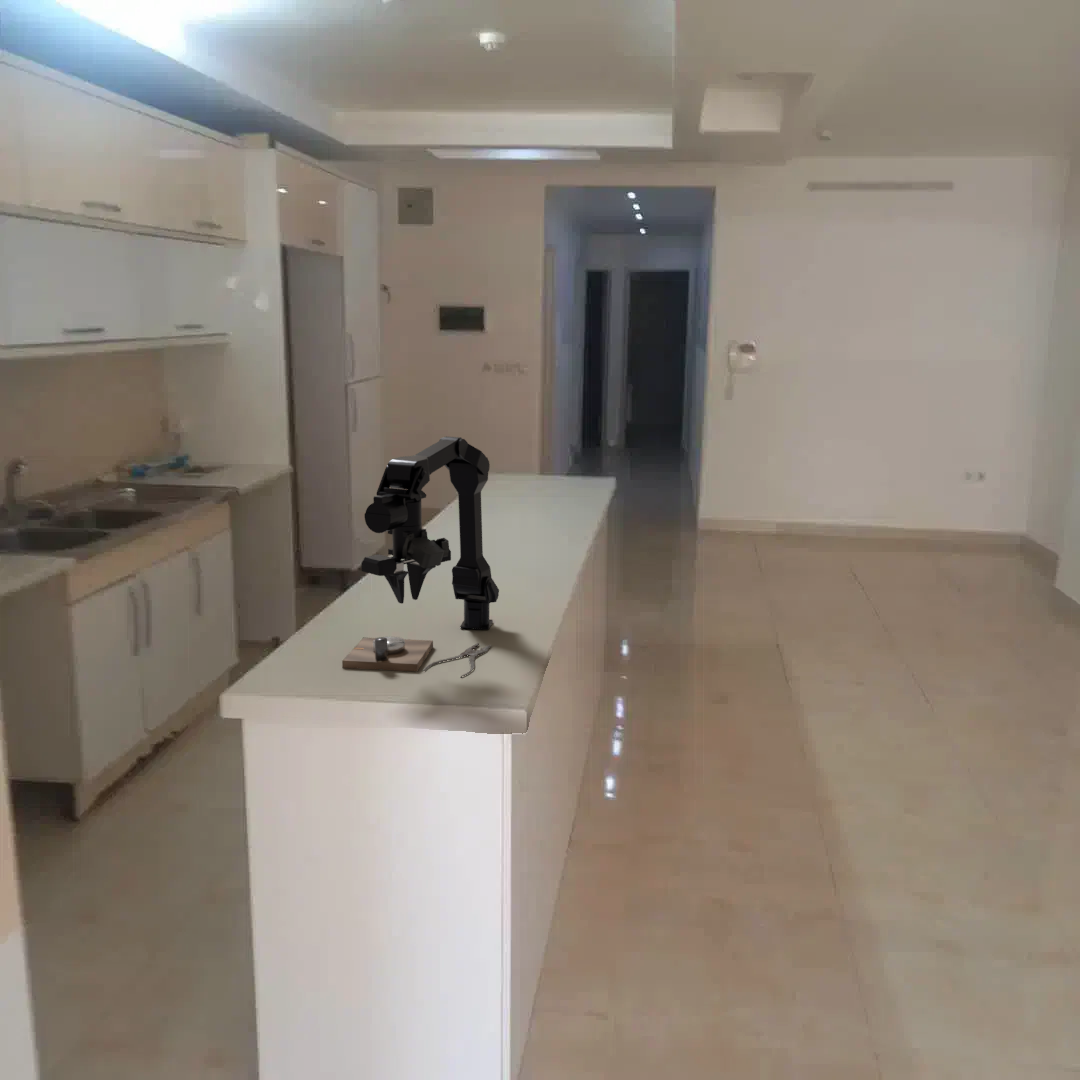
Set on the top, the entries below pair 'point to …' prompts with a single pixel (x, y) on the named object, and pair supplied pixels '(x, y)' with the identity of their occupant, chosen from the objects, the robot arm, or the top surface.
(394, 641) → the crank handle
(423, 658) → the dial plate
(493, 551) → the top surface
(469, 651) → the pliers
